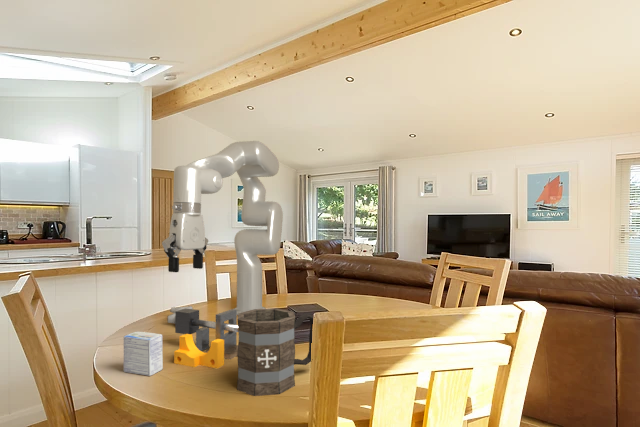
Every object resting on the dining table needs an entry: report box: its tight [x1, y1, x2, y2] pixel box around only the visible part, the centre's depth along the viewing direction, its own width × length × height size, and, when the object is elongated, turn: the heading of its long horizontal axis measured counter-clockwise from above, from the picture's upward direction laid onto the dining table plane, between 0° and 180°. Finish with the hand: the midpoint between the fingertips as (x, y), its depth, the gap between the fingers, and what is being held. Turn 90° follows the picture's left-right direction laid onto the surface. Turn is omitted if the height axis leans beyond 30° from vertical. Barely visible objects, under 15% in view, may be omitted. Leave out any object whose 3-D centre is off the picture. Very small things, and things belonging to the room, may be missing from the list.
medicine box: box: [123, 331, 164, 377], centre depth 96 cm, size 8×4×9 cm, turn 71°
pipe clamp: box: [173, 334, 225, 370], centre depth 101 cm, size 12×4×6 cm, turn 66°
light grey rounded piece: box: [167, 305, 194, 324], centre depth 140 cm, size 10×5×15 cm
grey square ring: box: [195, 308, 238, 360], centre depth 110 cm, size 13×7×11 cm, turn 66°
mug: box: [236, 308, 313, 397], centre depth 92 cm, size 20×14×15 cm
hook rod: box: [174, 308, 239, 335], centre depth 111 cm, size 23×4×6 cm, turn 66°
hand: (186, 270), depth 115 cm, fingers open, 9 cm apart
